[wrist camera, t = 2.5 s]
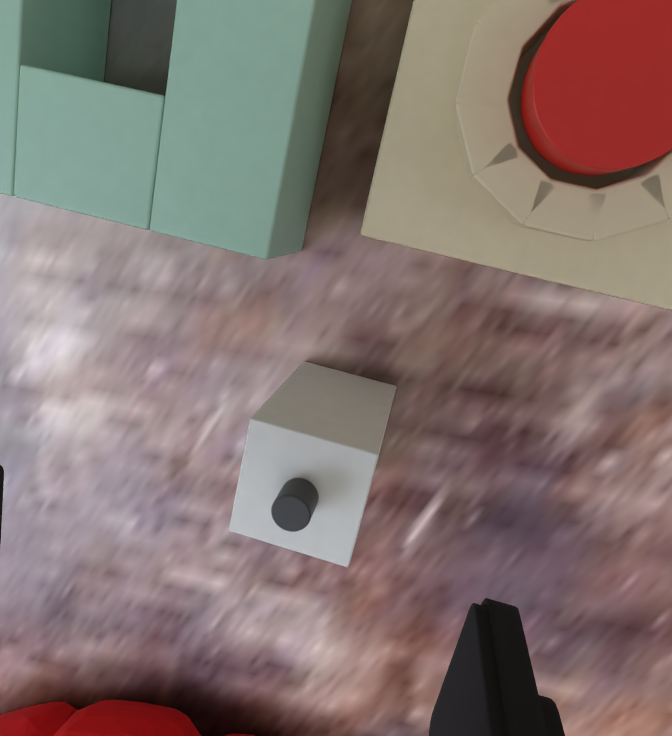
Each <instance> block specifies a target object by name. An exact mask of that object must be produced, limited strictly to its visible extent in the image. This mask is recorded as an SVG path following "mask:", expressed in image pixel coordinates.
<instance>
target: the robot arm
mask: <svg viewBox="0 0 672 736" xmlns="http://www.w3.org/2000/svg"><path fill="white" fill-rule="evenodd" d="M3 481H4V469H3V467H2V466H1V465H0V542H1V521H2V501H3ZM429 736H565V734H564V730H563V727H562V723H561V719H560V715H559V712H558V709H557V707H556V704H555V703H554V701H553V700H552V699H550V698H547V697H543V696H540V695H538V691H537V687H536V682H535V678H534V674H533V670H532V665H531V661H530V657H529V652H528V648H527V644H526V639H525V635H524V631H523V627H522V622H521V618H520V614H519V611H518V608H517V607H515V606H512V605H508V604H505V603H501V602H498V601H494V600H491V599H488V598H486V599H484V601H483V602H482V604H481V605H479V604H475V603H473V604H472V605H471V607H470V609H469V612H468V615H467V617H466V620H465V623H464V626H463V629H462V632H461V634H460V637H459V640H458V643H457V646H456V648H455V651H454V654H453V657H452V660H451V662H450V665H449V668H448V671H447V674H446V676H445V679H444V682H443V685H442V688H441V691H440V693H439V696H438V699H437V702H436V705H435V707H434V710H433V713H432V717H431V722H430V729H429Z"/></svg>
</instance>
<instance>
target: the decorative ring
mask: <svg viewBox="0 0 672 736" xmlns="http://www.w3.org/2000/svg"><path fill="white" fill-rule="evenodd" d="M0 736H202V735H200V734H199V732H198V731H197V729H196V728H195V726H194V724H193V723H192V721H191V720H190V719H189V717H188V716H187V715H185V714H184V713H182V712H181V711H179V710H177V709H174V708H169V707H164V706H159V705H154V704H149V703H144V702H135V701H125V700H102V701H100V702H97V703H95V704H92V705H90V706H87V707H85V708H83V709H80V710H77V709H76V708H74V707H72V706H71V705H69V704H67V703H66V702H50V703H45V704H39V705H34V706H29V707H25V708H22V709H18V710H15V711H11V712H8V713H5V714H1V715H0ZM224 736H255V735H249V734H239V733H233V734H229V735H224Z"/></svg>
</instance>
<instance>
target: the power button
mask: <svg viewBox="0 0 672 736" xmlns="http://www.w3.org/2000/svg"><path fill="white" fill-rule="evenodd" d="M521 115H522V121H523V125H524V128H525V131H526V133H527V136H528V138H529V140H530V142H531V143H532V145H533V146H534V148H535V149H536V150H537V152H538V153H539V154H540V155H541V156H542V157H543V158H544V159H545V160H547V161H548V162H549V163H551V164H552V165H554V166H555V167H557V168H559V169H562V170H564V171H567V172H570V173H573V174H579V175H593V176H595V175H604V174H609V173H613V172H617V171H621V170H625V169H629V168H632V167H636V166H640V165H642V164H645V163H648V162H650V161H652V160H654V159H656V158H658V157H660V156H662V155H664V154H665V153H667V152H668V151H670V150H671V149H672V0H577V1H576V2H575V3H573V4H572V5H571V6H570V7H569V8H568V9H567V10H566V11H565V12H564V13H563V14H562V15H561V16H560V17H559V18H558V20H557V21H556V22H555V23H554V25H553V26H552V28H551V29H550V31H549V32H548V34H547V35H546V37H545V39H544V40H543V42H542V44H541V45H540V47H539V49H538V51H537V52H536V54H535V56H534V57H533V59H532V61H531V63H530V65H529V67H528V70H527V73H526V76H525V78H524V82H523V87H522V93H521Z"/></svg>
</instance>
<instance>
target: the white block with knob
mask: <svg viewBox="0 0 672 736" xmlns="http://www.w3.org/2000/svg"><path fill="white" fill-rule="evenodd" d="M395 391H396V386H395V385H391V384H387V383H383V382H380V381H376V380H372V379H369V378H365V377H361V376H357V375H354V374H350V373H346V372H343V371H339V370H335V369H331V368H328V367H324V366H320V365H317V364H313V363H309V362H303V363H302V364H301V365H300V366H299V367H298V369H297V370H296V371H295V372H294V373H293V374H292V375H291V376H290V377H289V378H288V379H287V380H286V381H285V382H284V383H283V384H282V385H281V387H280V388H279V389H278V390H277V391H276V392H275V393H274V394H273V395H272V396H271V397H270V398H269V399H268V400H267V401H266V402H265V404H264V405H263V406H262V407H261V408H260V409H259V410H258V411H257V412H256V413H255V414H254V415H253V416H252V417H251V419H250V422H249V427H248V432H247V438H246V443H245V448H244V453H243V459H242V464H241V469H240V474H239V480H238V485H237V490H236V495H235V500H234V506H233V511H232V516H231V521H230V527H229V530H230V531H232V532H235V533H238V534H241V535H245V536H248V537H251V538H254V539H258V540H261V541H264V542H267V543H271V544H274V545H277V546H280V547H284V548H287V549H290V550H293V551H297V552H300V553H303V554H306V555H310V556H313V557H316V558H319V559H323V560H326V561H329V562H332V563H336V564H339V565H342V566H345V567H348V566H349V565H350V561H351V557H352V554H353V550H354V546H355V543H356V539H357V535H358V531H359V528H360V524H361V520H362V517H363V513H364V509H365V506H366V502H367V498H368V494H369V491H370V487H371V483H372V480H373V476H374V472H375V469H376V465H377V461H378V458H379V454H380V450H381V446H382V442H383V438H384V434H385V430H386V426H387V422H388V418H389V414H390V411H391V407H392V403H393V399H394V395H395Z"/></svg>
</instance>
